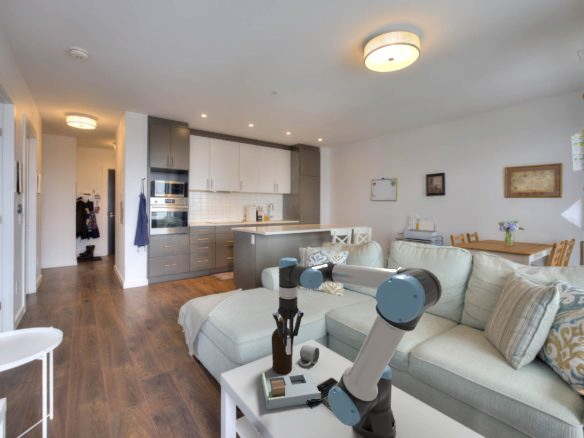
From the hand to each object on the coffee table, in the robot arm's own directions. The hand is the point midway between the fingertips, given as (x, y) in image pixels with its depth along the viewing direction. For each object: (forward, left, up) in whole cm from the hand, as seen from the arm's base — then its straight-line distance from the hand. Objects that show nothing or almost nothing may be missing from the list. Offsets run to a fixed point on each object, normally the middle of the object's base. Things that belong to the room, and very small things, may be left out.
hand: (288, 352), depth 116 cm
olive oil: (+20, -2, -19) cm, 28 cm away
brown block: (-1, +4, -17) cm, 17 cm away
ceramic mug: (+24, -16, -19) cm, 34 cm away
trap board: (+3, -2, -19) cm, 19 cm away
